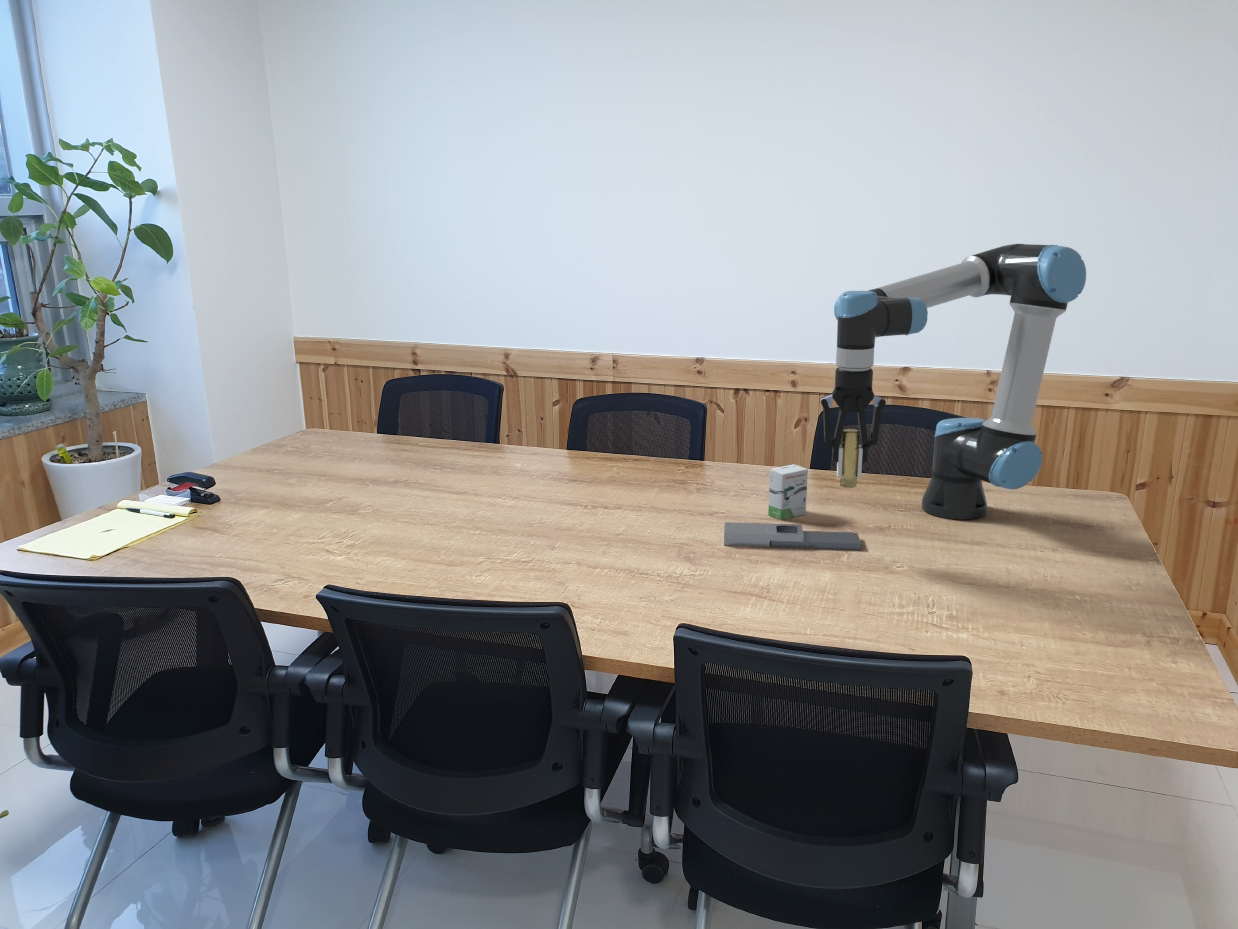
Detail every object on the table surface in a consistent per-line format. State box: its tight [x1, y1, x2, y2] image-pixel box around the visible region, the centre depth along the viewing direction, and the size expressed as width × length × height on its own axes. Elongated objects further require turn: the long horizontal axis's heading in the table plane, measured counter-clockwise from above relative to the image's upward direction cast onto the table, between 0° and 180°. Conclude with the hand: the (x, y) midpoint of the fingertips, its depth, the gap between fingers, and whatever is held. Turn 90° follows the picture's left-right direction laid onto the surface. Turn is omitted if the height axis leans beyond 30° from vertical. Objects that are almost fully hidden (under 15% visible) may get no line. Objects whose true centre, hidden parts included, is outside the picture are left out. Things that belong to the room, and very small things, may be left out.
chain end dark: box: [770, 530, 862, 551], centre depth 205 cm, size 20×7×2 cm, turn 82°
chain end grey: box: [723, 521, 804, 548], centre depth 206 cm, size 18×7×3 cm, turn 82°
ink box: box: [767, 463, 809, 521], centre depth 222 cm, size 9×5×12 cm, turn 123°
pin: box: [839, 428, 860, 489], centre depth 193 cm, size 3×3×12 cm
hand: (848, 476), depth 194 cm, fingers closed on pin, 3 cm apart
